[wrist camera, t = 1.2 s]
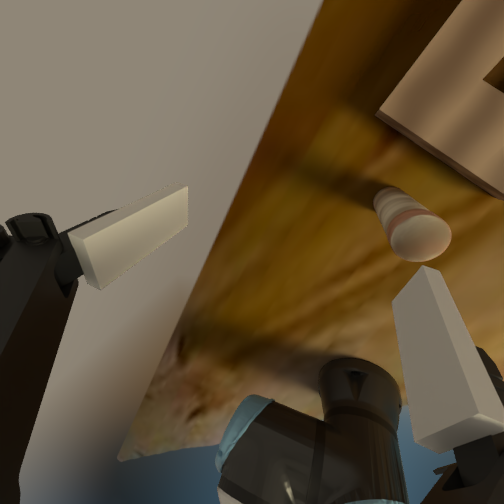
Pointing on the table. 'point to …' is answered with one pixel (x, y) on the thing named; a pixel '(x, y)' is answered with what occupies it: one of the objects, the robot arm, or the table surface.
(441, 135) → the square peg hole block
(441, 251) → the dowel
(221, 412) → the table surface
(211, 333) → the table surface
